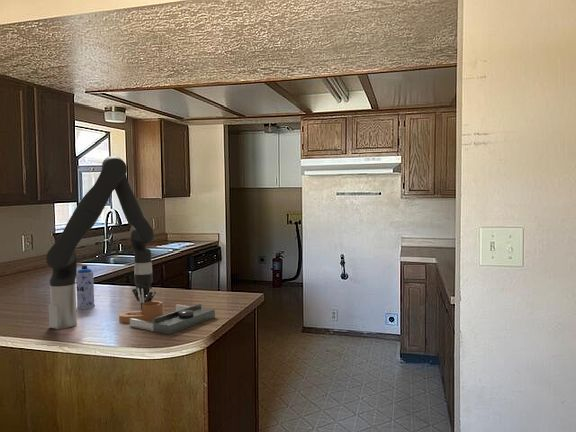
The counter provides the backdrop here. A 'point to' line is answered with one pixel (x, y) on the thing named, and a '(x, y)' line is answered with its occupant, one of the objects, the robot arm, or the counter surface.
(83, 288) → the aerosol can
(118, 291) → the counter surface
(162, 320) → the deck mount
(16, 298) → the counter surface
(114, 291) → the counter surface
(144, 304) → the bracket
